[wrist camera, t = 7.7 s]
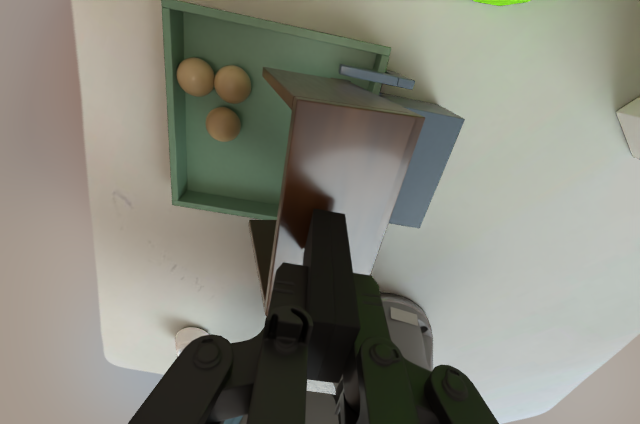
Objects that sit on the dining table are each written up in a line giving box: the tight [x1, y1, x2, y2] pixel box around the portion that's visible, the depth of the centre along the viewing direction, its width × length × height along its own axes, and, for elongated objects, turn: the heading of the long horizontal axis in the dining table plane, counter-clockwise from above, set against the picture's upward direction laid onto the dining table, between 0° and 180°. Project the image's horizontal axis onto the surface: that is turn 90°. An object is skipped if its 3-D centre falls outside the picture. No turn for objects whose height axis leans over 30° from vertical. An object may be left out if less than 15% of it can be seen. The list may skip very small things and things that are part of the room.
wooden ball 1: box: [176, 57, 215, 97], centre depth 25 cm, size 3×3×3 cm
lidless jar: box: [175, 327, 209, 356], centre depth 43 cm, size 5×3×5 cm
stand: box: [338, 64, 465, 228], centre depth 27 cm, size 14×10×7 cm
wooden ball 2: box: [214, 65, 251, 104], centre depth 26 cm, size 3×3×3 cm
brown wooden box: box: [249, 67, 425, 316], centre depth 20 cm, size 12×10×6 cm
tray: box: [161, 0, 391, 220], centre depth 28 cm, size 17×17×3 cm
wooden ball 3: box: [205, 107, 241, 142], centre depth 27 cm, size 3×3×3 cm
